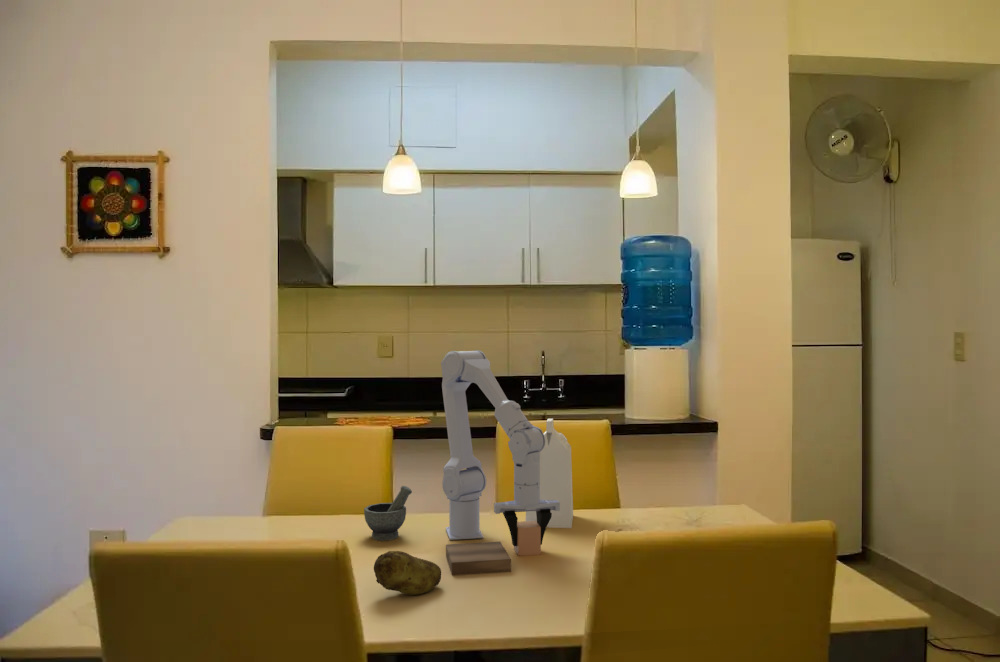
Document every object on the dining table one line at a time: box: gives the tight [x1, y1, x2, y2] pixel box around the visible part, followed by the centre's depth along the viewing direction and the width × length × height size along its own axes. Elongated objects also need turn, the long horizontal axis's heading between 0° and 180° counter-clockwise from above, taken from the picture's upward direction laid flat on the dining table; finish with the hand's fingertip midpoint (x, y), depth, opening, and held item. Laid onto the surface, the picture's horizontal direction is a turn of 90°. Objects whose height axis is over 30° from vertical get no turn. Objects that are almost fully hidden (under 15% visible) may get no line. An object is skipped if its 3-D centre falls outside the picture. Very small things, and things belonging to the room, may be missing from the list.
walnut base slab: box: [445, 541, 512, 576], centre depth 146 cm, size 12×12×2 cm
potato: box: [373, 550, 442, 596], centre depth 130 cm, size 8×13×8 cm, turn 103°
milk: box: [525, 418, 574, 529], centre depth 180 cm, size 12×12×26 cm
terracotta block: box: [513, 520, 542, 556], centre depth 154 cm, size 5×5×6 cm
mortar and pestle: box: [363, 485, 413, 542], centre depth 166 cm, size 11×9×12 cm
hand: (527, 544), depth 154 cm, fingers closed on terracotta block, 5 cm apart
